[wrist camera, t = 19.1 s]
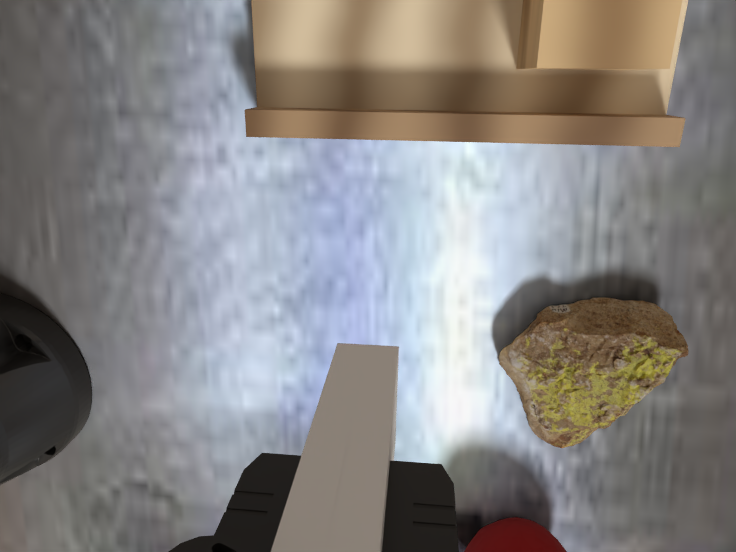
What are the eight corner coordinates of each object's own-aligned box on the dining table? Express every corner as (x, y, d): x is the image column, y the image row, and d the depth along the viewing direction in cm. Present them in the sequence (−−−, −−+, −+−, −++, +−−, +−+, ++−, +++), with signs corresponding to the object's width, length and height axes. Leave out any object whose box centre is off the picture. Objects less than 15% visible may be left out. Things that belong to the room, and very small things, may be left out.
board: (267, 129, 36) (246, 136, 32) (256, -85, 32) (231, -109, 27) (647, 137, 34) (679, 146, 30) (689, -90, 30) (733, -117, 25)
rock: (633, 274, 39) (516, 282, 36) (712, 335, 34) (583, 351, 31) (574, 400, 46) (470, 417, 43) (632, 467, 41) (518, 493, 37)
